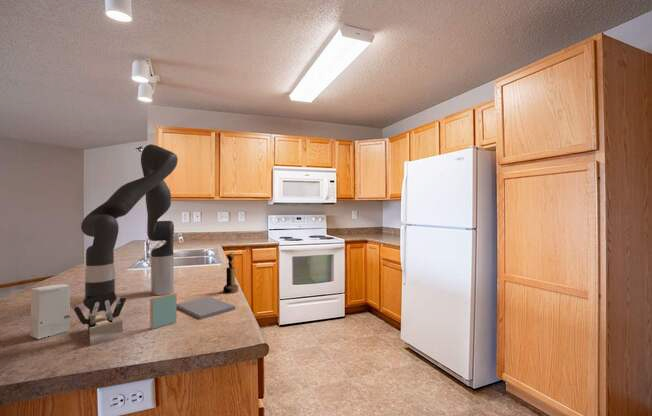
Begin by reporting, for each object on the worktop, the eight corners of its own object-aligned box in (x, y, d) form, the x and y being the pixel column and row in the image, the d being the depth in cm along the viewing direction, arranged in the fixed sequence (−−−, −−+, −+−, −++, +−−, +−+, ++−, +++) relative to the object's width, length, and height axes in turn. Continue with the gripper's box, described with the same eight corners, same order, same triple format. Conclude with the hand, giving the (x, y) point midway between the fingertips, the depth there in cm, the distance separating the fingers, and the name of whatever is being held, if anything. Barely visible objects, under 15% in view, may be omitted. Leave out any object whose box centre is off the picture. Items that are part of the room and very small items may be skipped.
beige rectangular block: (78, 332, 99) (78, 316, 99) (107, 324, 105) (107, 310, 105) (90, 345, 90) (90, 328, 89) (122, 337, 96) (122, 320, 96)
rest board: (176, 307, 123) (176, 304, 123) (209, 299, 134) (209, 296, 134) (200, 319, 110) (200, 315, 110) (235, 309, 121) (235, 306, 121)
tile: (150, 328, 102) (149, 298, 102) (174, 321, 108) (174, 292, 108) (151, 329, 101) (151, 299, 101) (176, 322, 107) (176, 293, 107)
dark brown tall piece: (232, 288, 151) (232, 251, 151) (240, 291, 147) (240, 252, 147) (220, 291, 146) (220, 253, 146) (228, 294, 142) (228, 254, 142)
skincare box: (37, 340, 93) (37, 290, 93) (29, 336, 96) (29, 288, 96) (71, 330, 100) (71, 284, 100) (62, 327, 103) (62, 282, 103)
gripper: (122, 273, 105) (122, 324, 105) (68, 280, 94) (69, 337, 94) (129, 276, 100) (130, 330, 100) (74, 284, 89) (74, 344, 89)
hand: (100, 333), depth 97 cm, fingers open, 3 cm apart
